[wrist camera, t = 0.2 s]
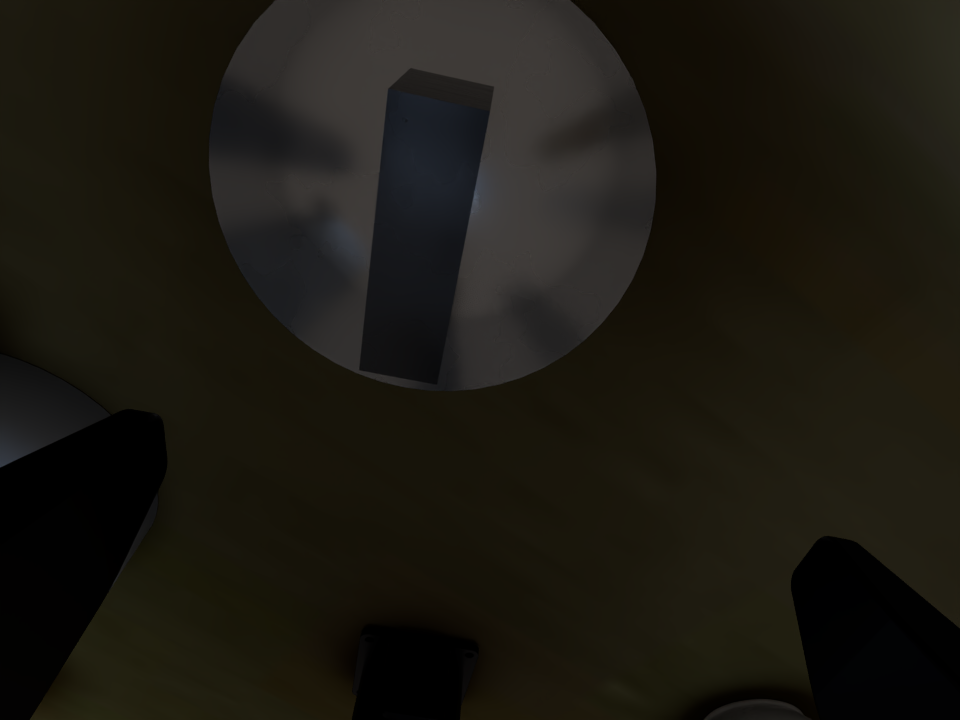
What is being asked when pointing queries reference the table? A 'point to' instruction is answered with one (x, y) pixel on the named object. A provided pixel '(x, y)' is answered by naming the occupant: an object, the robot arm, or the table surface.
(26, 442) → the pot
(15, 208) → the table surface
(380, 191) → the lid
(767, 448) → the table surface
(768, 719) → the lidded jar
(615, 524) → the table surface
